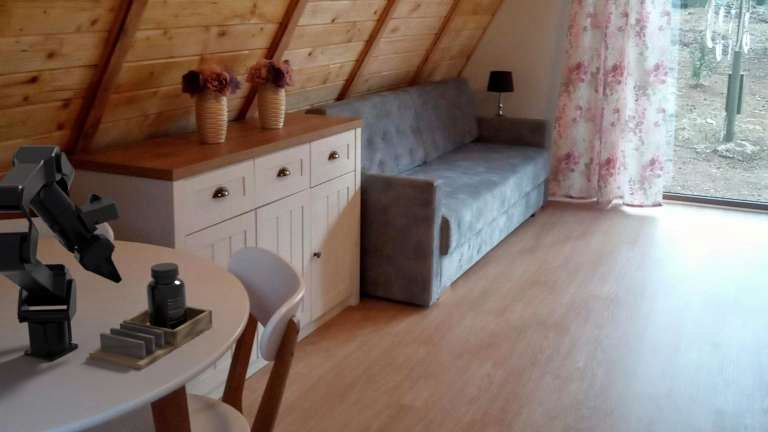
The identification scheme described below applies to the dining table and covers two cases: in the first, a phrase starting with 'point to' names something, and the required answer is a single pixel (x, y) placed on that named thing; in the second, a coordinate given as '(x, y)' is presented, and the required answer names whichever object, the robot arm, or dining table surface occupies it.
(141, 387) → the dining table surface
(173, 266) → the supplement bottle
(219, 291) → the dining table surface
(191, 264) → the dining table surface
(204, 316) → the wooden desk organizer
